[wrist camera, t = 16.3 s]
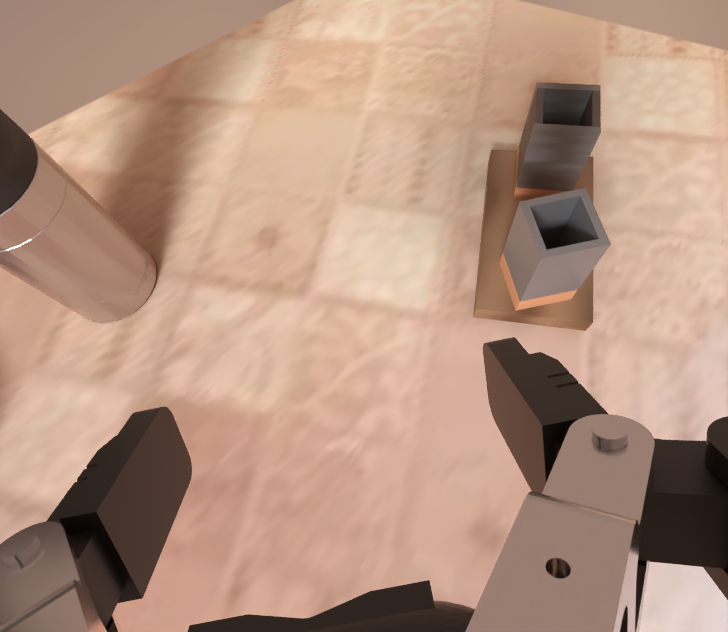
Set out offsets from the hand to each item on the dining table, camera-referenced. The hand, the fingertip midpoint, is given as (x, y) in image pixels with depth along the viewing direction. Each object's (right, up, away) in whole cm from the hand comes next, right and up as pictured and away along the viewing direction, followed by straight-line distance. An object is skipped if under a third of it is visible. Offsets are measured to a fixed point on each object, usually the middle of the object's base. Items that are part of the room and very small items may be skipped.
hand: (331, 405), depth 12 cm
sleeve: (+16, +5, +32) cm, 36 cm away
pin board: (+18, +10, +35) cm, 41 cm away
